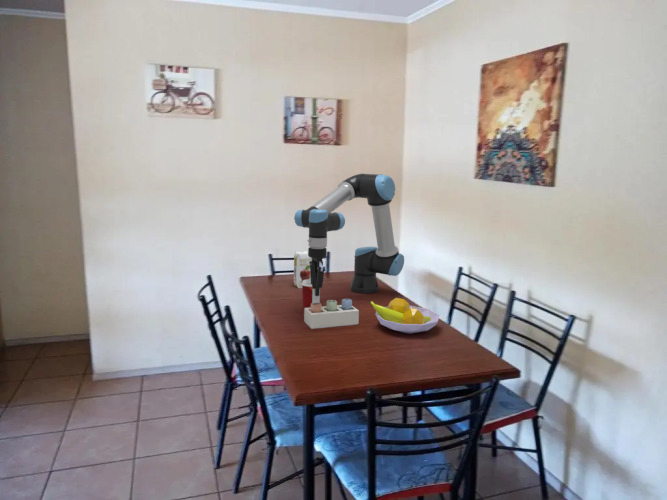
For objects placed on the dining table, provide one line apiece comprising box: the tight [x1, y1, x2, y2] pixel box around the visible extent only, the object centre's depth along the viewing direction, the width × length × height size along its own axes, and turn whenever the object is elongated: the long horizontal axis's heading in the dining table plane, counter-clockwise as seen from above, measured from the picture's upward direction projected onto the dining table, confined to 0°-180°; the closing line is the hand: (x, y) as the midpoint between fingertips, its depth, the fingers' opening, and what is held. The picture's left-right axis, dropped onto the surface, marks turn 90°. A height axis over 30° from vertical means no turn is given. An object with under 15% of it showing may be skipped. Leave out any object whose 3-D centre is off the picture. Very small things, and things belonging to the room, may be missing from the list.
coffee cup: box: [301, 279, 313, 314], centre depth 229 cm, size 8×8×15 cm
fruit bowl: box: [369, 297, 440, 334], centre depth 214 cm, size 28×27×11 cm
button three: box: [311, 302, 322, 313], centre depth 215 cm, size 4×4×6 cm
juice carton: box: [293, 250, 312, 289], centre depth 275 cm, size 8×9×19 cm
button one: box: [341, 298, 353, 310], centre depth 220 cm, size 4×4×6 cm
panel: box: [303, 304, 360, 330], centre depth 218 cm, size 21×10×6 cm, turn 111°
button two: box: [325, 299, 338, 312], centre depth 217 cm, size 4×4×6 cm
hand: (315, 302), depth 214 cm, fingers closed
